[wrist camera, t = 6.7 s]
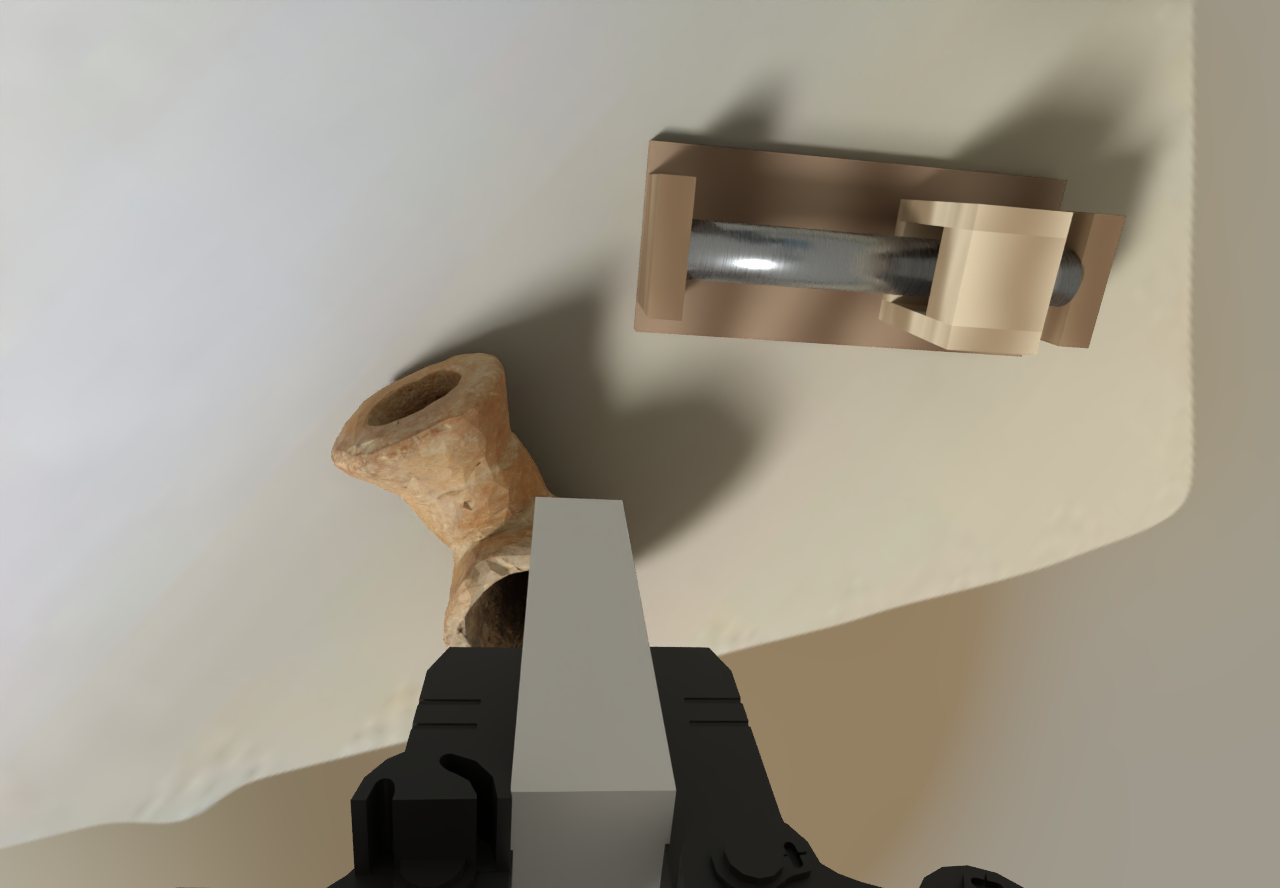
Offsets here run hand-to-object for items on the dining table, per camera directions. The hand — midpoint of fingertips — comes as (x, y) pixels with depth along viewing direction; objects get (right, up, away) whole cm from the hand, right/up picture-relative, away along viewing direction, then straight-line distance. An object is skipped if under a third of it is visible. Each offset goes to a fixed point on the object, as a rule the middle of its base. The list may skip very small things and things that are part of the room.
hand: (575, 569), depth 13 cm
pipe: (-6, 0, +28) cm, 29 cm away
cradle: (+12, +12, +25) cm, 30 cm away
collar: (+16, +11, +24) cm, 31 cm away
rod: (+12, +11, +22) cm, 27 cm away
